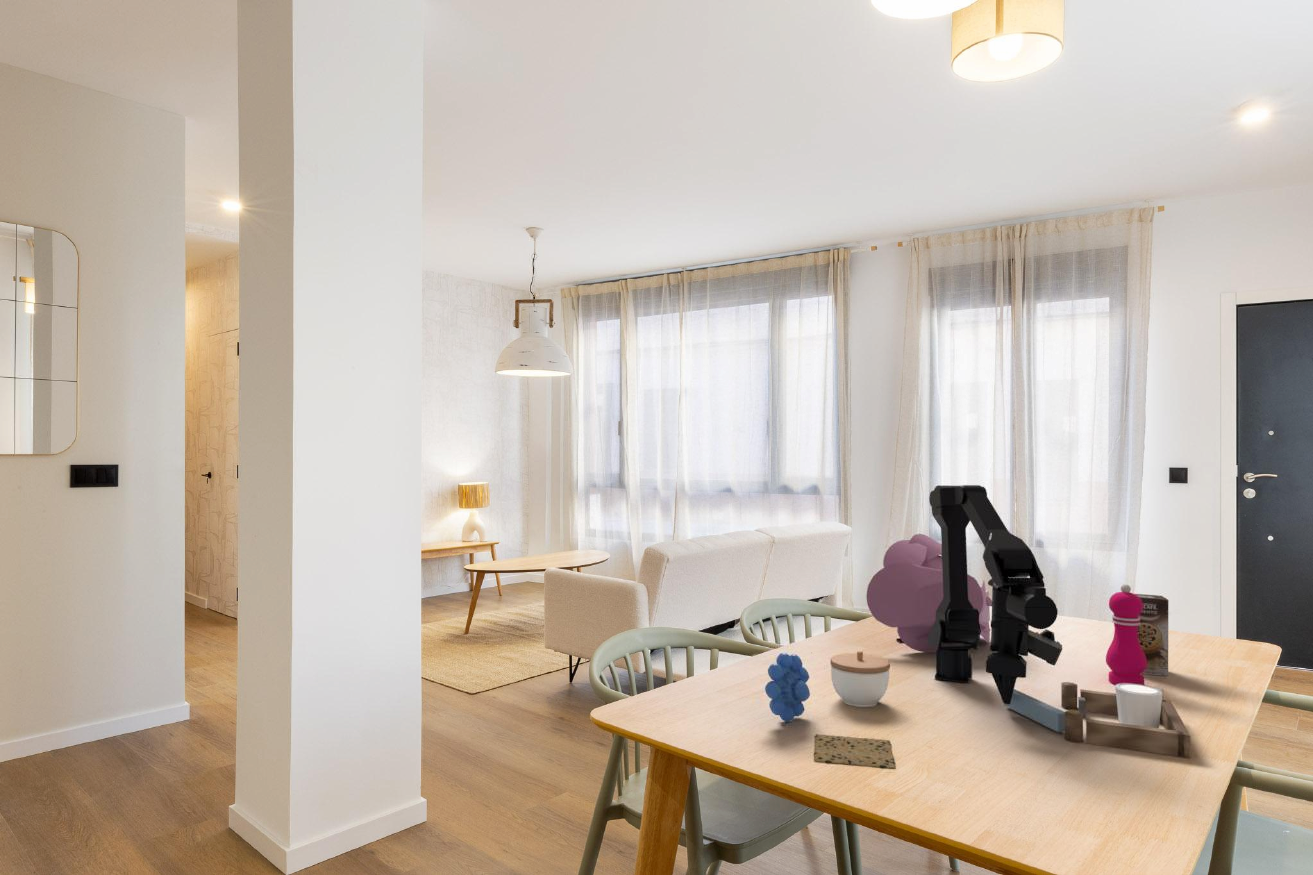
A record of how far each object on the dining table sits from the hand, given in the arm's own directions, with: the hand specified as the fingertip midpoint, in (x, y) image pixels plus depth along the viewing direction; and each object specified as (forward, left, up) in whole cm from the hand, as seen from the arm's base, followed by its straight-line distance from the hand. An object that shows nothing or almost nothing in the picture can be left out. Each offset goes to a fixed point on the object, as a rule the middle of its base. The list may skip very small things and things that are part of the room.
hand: (1006, 703), depth 140 cm
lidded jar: (-25, -5, -2) cm, 25 cm away
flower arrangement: (-17, +51, -2) cm, 54 cm away
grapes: (-33, -22, -2) cm, 40 cm away
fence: (+17, 0, -2) cm, 17 cm away
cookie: (-21, -30, -3) cm, 37 cm away
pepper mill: (+21, +32, -2) cm, 38 cm away
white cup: (+20, +1, -2) cm, 20 cm away
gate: (+4, -2, -1) cm, 5 cm away
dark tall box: (+25, +45, -2) cm, 51 cm away
